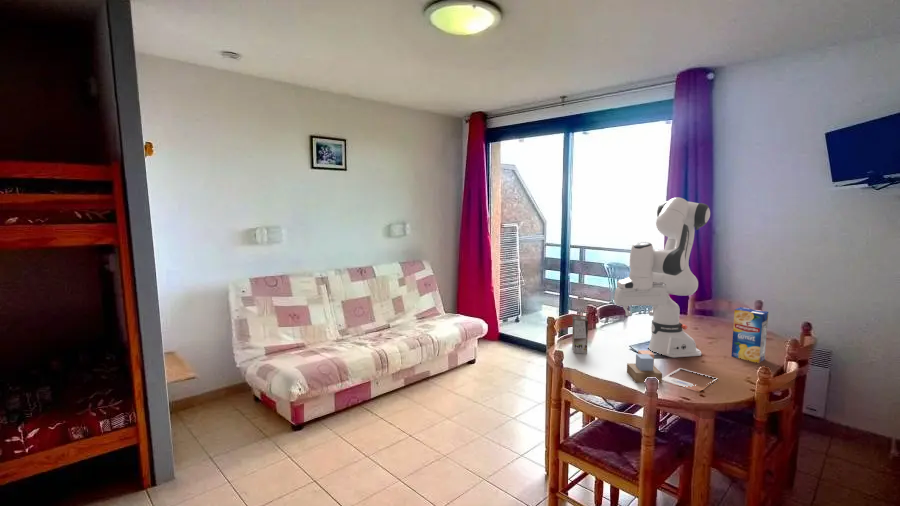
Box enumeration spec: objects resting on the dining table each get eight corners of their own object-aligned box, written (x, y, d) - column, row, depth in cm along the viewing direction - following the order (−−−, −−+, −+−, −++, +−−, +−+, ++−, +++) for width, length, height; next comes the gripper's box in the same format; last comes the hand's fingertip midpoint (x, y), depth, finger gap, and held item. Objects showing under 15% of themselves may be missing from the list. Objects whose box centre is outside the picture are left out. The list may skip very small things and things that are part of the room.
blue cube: (648, 365, 176) (648, 354, 176) (653, 370, 172) (653, 358, 171) (635, 365, 177) (636, 354, 176) (640, 370, 172) (640, 358, 171)
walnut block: (651, 372, 179) (651, 363, 179) (661, 382, 169) (662, 373, 169) (626, 372, 180) (627, 363, 179) (635, 382, 170) (636, 373, 169)
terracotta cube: (649, 361, 192) (649, 350, 192) (653, 365, 187) (654, 354, 187) (637, 361, 193) (638, 350, 192) (642, 365, 188) (642, 354, 187)
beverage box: (759, 363, 188) (763, 314, 185) (731, 356, 197) (734, 309, 194) (764, 359, 192) (768, 311, 189) (737, 353, 201) (740, 307, 198)
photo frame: (660, 378, 172) (679, 367, 183) (660, 381, 172) (679, 369, 183) (699, 391, 160) (718, 378, 172) (699, 393, 161) (717, 380, 172)
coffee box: (587, 353, 202) (588, 320, 200) (573, 353, 204) (574, 320, 202) (585, 347, 211) (586, 315, 209) (571, 346, 212) (572, 315, 210)
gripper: (663, 280, 177) (662, 313, 179) (613, 281, 178) (612, 313, 180) (670, 283, 171) (669, 317, 172) (618, 284, 172) (617, 318, 173)
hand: (639, 315), depth 176 cm, fingers open, 8 cm apart
